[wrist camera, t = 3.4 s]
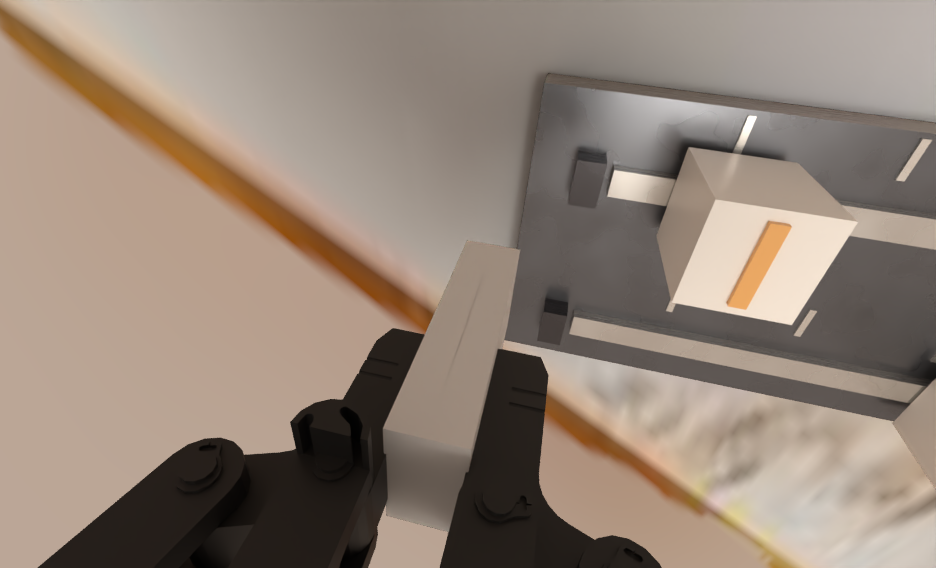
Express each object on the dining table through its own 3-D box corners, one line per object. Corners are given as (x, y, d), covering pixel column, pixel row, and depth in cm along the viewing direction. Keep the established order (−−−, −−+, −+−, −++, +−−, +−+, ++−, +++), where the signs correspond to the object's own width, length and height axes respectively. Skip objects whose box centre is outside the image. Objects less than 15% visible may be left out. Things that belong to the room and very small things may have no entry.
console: (549, 65, 20) (543, 80, 17) (1642, 203, 15) (1856, 252, 13) (507, 318, 28) (498, 353, 26) (1203, 458, 23) (1277, 519, 21)
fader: (688, 147, 18) (716, 201, 14) (797, 162, 18) (861, 224, 13) (656, 235, 20) (672, 305, 16) (751, 251, 20) (793, 328, 16)
